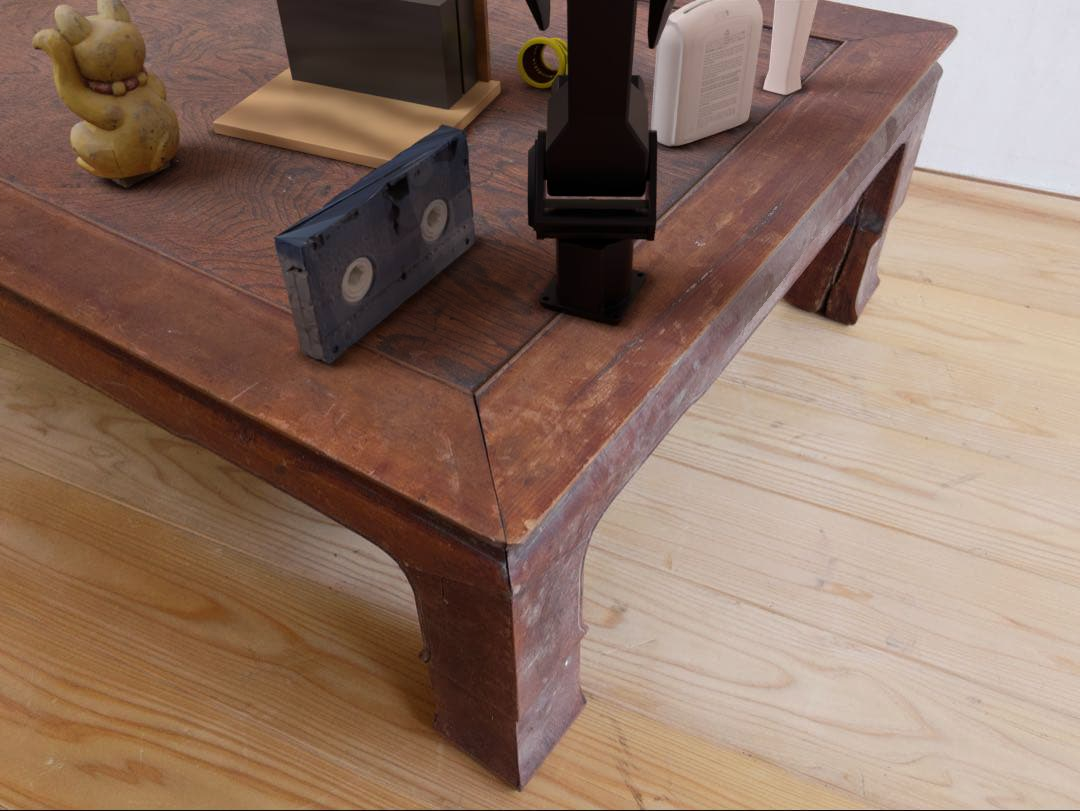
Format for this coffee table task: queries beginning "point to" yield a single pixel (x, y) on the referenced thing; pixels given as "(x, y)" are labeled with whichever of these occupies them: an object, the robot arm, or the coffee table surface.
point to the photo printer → (705, 69)
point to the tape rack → (370, 77)
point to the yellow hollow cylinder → (541, 61)
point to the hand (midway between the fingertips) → (597, 37)
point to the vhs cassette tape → (377, 243)
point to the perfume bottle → (789, 44)
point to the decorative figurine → (110, 93)
